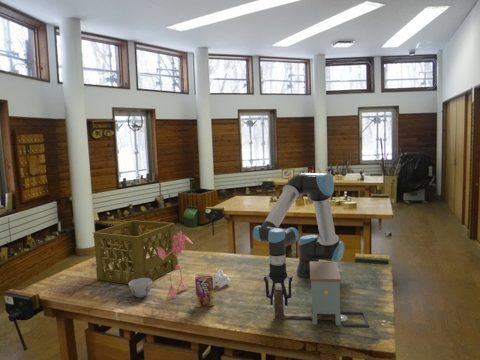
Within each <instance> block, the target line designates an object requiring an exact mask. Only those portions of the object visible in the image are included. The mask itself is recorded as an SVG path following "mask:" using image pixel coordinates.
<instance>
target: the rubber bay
mask: <svg viewBox="0 0 480 360" xmlns="http://www.w3.org/2000/svg"><path fill="white" fill-rule="evenodd" d="M340 314H343V315H345V314H348V315H349V314H351V315H355V314H356V315H362V317H363V319H364V322H365V323H351V322H350V323H349V322H342V327H360V328H361V327H362V328H363V327H364V328H365V327H366V328H367V327H368V328H369V327H370V324H369V321H368V318H367V314H366V311H363V310H362V311H359V310H354V311H353V310H340Z"/></svg>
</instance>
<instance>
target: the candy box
mask: <svg viewBox="0 0 480 360" xmlns="http://www.w3.org/2000/svg"><path fill="white" fill-rule="evenodd" d="M194 279H195V280H194V281H195V282H194V283H195V293H196V294H195V296H196V307H197V308H202V307H210V306H215V294H214V292H215V290H214V288H213V274H212V273H208V274H198V275H197V274H196V275H195V278H194Z"/></svg>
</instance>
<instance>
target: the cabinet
mask: <svg viewBox="0 0 480 360" xmlns="http://www.w3.org/2000/svg"><path fill="white" fill-rule="evenodd" d="M309 279H310V280H309V281H310V283H311V284H310V287H311V288H310V289H311V311H312V312H311V313H312V314H311V315H312V319H311V320H312V325H318V319H317V315H332V314H335V321H334V323H335V326H341V322H340V315H341V313H340V311H341V290H340V289H341V285H340V284H341V283H342V278H341V274H340V271H339V266H338V262H335V261H333V262H332V261H319V262H313V261H310V278H309Z"/></svg>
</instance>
